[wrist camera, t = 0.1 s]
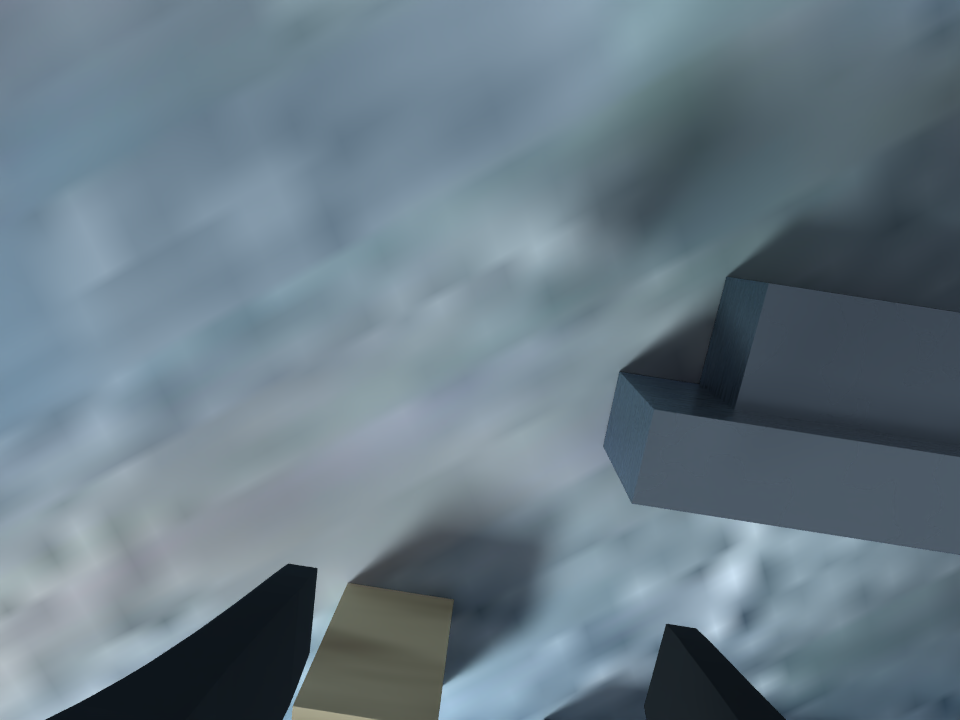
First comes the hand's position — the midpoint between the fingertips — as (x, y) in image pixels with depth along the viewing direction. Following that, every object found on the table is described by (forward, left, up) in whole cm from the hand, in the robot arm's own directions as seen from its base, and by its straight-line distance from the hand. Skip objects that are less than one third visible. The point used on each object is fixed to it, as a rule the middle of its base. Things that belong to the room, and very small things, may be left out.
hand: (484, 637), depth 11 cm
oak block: (-9, +3, -10) cm, 14 cm away
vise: (+4, -13, -10) cm, 17 cm away
